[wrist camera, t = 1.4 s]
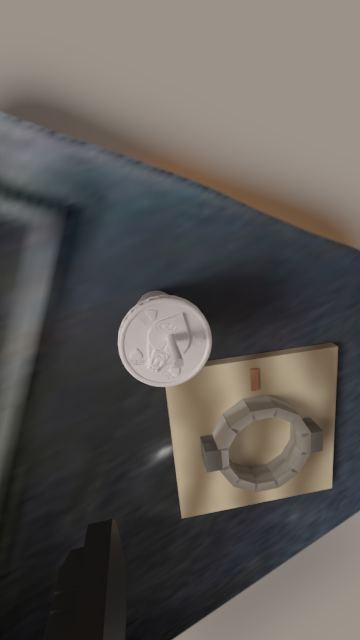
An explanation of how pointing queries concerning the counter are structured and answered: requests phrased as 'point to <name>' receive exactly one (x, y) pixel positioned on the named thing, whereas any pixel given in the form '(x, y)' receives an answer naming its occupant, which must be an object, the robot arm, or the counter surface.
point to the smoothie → (164, 340)
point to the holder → (254, 428)
